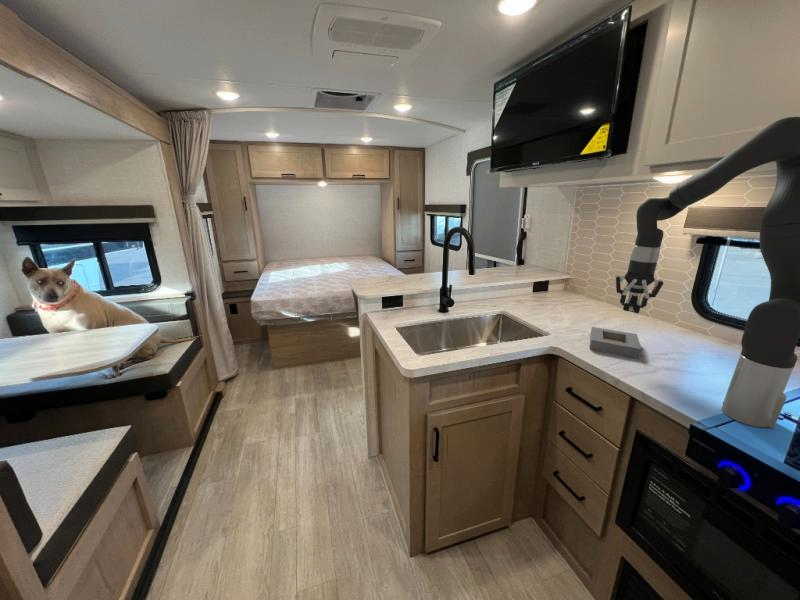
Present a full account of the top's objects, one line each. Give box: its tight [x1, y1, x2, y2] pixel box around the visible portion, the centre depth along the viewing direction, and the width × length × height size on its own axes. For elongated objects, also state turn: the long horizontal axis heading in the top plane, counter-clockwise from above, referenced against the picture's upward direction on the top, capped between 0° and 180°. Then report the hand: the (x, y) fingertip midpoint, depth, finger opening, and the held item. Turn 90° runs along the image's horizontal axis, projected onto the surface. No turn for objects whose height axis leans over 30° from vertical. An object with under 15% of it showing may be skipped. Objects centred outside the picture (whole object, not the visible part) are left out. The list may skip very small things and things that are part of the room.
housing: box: [589, 326, 642, 360], centre depth 128 cm, size 16×16×4 cm
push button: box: [617, 285, 645, 314], centre depth 113 cm, size 7×5×10 cm
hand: (632, 305), depth 114 cm, fingers closed on push button, 5 cm apart
